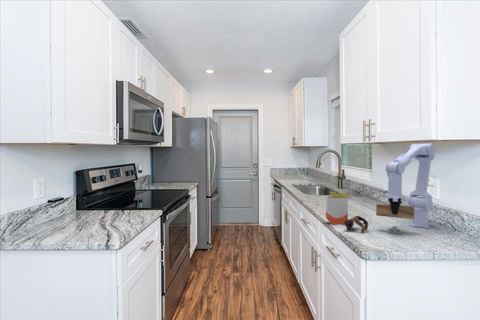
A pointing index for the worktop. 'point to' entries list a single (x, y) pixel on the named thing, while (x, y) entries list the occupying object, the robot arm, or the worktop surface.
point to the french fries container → (337, 208)
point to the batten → (402, 213)
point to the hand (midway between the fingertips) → (394, 213)
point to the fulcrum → (394, 230)
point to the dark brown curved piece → (350, 223)
